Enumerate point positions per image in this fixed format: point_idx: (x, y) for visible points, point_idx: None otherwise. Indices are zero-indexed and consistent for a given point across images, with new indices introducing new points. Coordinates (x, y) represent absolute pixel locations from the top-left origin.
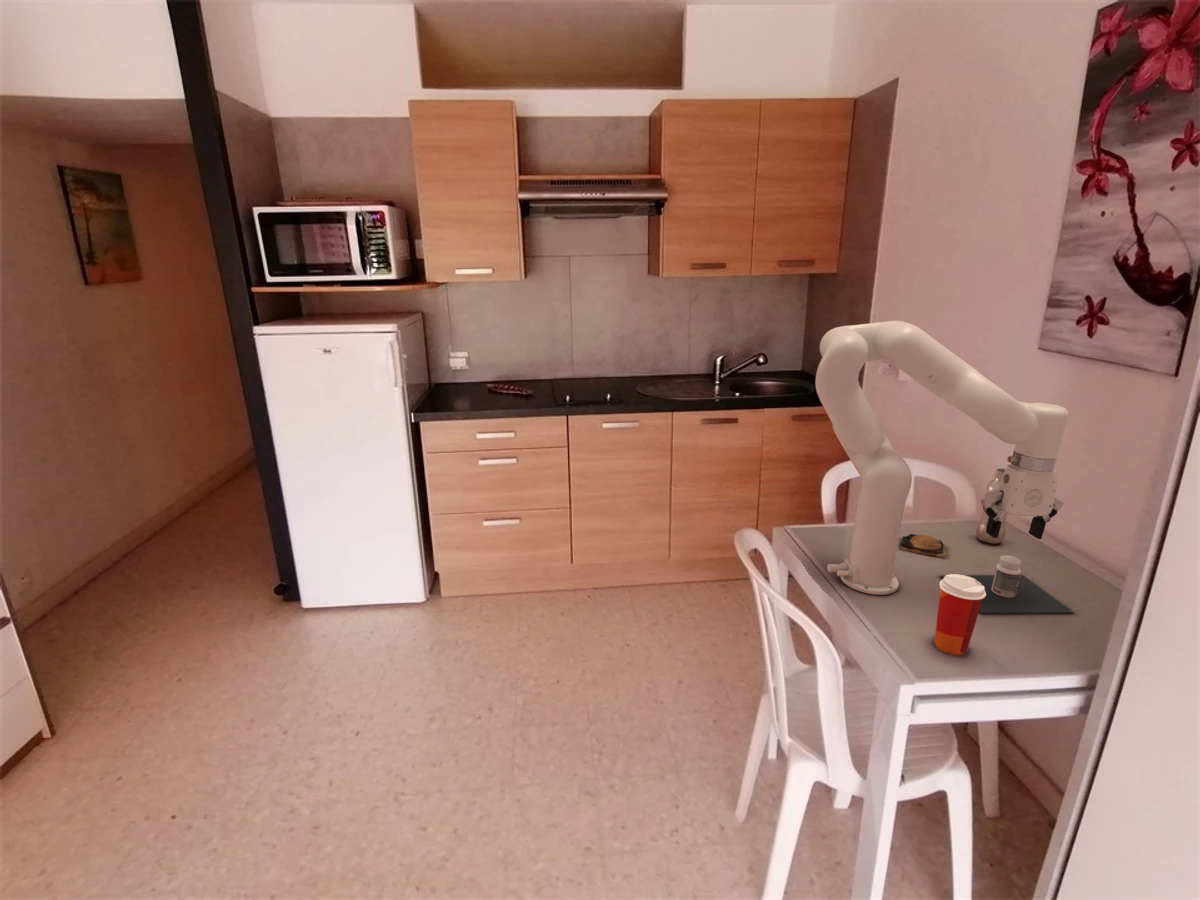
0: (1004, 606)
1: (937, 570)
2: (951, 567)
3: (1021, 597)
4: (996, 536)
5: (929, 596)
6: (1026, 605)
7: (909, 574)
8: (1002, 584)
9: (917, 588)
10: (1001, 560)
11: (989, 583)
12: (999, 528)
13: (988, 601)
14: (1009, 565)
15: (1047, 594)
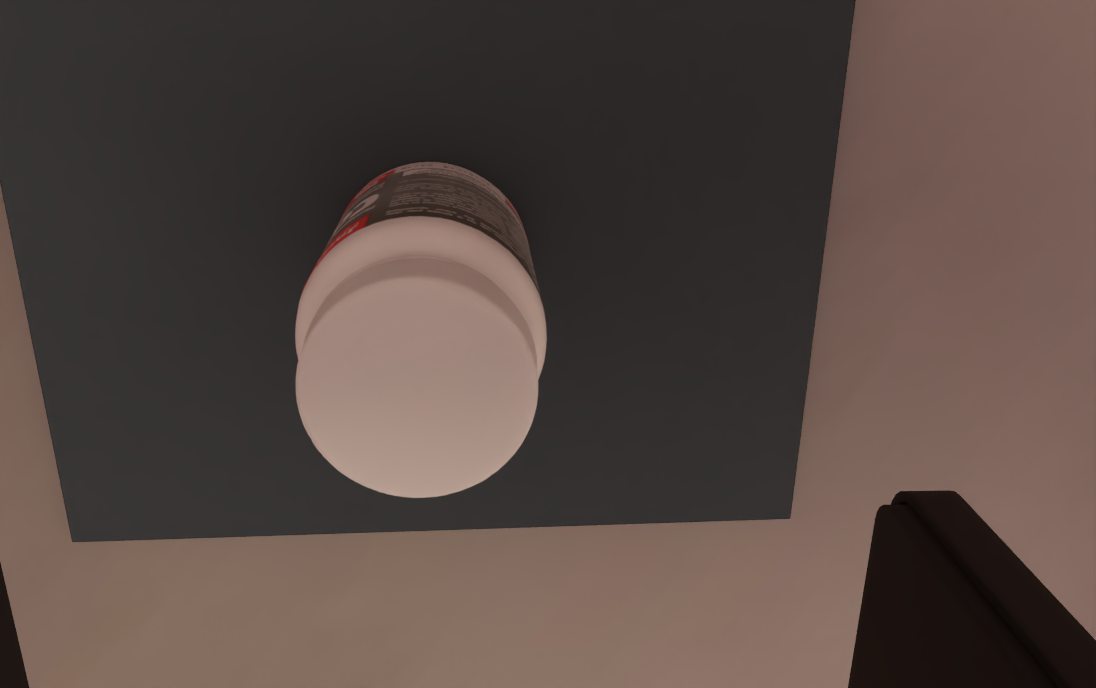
0: (575, 17)
1: (733, 604)
2: (591, 649)
3: (310, 175)
4: (944, 500)
5: (1080, 222)
6: (352, 29)
7: None
8: (511, 222)
9: (1083, 343)
10: (537, 386)
11: None
12: (1020, 629)
13: (664, 109)
14: (488, 289)
15: (26, 222)
